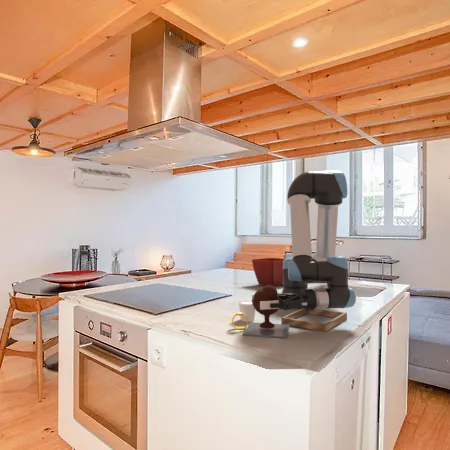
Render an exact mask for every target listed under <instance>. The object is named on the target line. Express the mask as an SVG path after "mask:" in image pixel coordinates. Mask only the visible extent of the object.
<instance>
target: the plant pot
mask: <svg viewBox="0 0 450 450" xmlns="http://www.w3.org/2000/svg"><path fill="white" fill-rule="evenodd" d="M284 259H285V258H276V257H267V258H266V257H265V258H254V259H253V258H252V259H251V261H252V262H251V263H252V268H253V272H254V276H255V279H256V281H257V283H258V285H259V284H260V286H264V287H265V286H266V285H272V286H274V287H281V286H283V269H282V268H283V260H284Z"/></svg>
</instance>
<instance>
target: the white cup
mask: <svg viewBox="0 0 450 450" xmlns="http://www.w3.org/2000/svg"><path fill="white" fill-rule="evenodd" d="M238 306H239V312H243V313H244V314H245V315H246V316H247V318H248V323H249V322H250V323H251V322H254V321H255V317H256V315H255V314H256V309H255V308H254V306H253V304H252V300H244V301H243V300H242V301H239V302H238ZM239 317H240V321H242V322H246V323H247V319H246V317H245V316H243V315H242V316H239Z"/></svg>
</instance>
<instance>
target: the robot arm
mask: <svg viewBox="0 0 450 450" xmlns="http://www.w3.org/2000/svg"><path fill="white" fill-rule="evenodd" d="M347 183H348V182H347V178H346V176H345V173H344V172H343V171H340V170H320V171H319V170H318V171H305V172H302V173H300V174H298V175H297V176H296V177H295V178H294V179H293V181H292V182H291V184H290V185H289V188H288V190H287V194H286V195H287V196H286V198H287V204H288V205H289V209H290V211H289V212H290V231H291V232H290V233H291V234H290V235H291V253H292V254H291V256H290V257H287V258H283V259H284V260H283V268H282V269H283V285H282V291H281V292H280V293H279V292H277V293H278V294H277V295H278V296H279V298H280V299H279V301H278V300H277V301H260V310H264V309H279V308H280V309H279V310H283V311H287V310H288V311H289V310H295V309H302V308H303V309H304V310H314V309H320V311H322V309H324V310H331V309H345V308H346V309H348V308H352V307H354V305H355V304H356V301H357V297H356V292H355V290H354V289H353V288H352V287H349V265H348V262H349V261H348V258H347V257H346V256H342V255H337V254H336V245H337V244H336V243H337V230H338V215H339V206H340V205H342V204H343V199H346V198H347V197H348V184H347ZM313 199H314V203H315V204H316V205H317V218H316V219H317V221H316V222H317V223H316V225H317V226H316V244H315V247H316V248H315V252H314V253H313V252H312V251H313V248H312V237H311V236H312V235H311V224H310V223H311V222H310V207H309V204H310V203H311V200H313ZM309 284H326V286H327V287H326V288H323V287H322V288H320V287H319V288H313V289H312V288H309V287H308V286H309ZM253 298H254V294H252V295H251V300H252V299H253Z"/></svg>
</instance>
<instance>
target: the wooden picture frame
mask: <svg viewBox="0 0 450 450" xmlns="http://www.w3.org/2000/svg"><path fill="white" fill-rule="evenodd" d="M306 314H309V315H316V316H323V317H329V318H332V319H331V320H329V321H328V322H326V323H322V322H315V321H310V320H308V321H307V320H304V319H303V320H302V319H299V317H303V316H304V315H306ZM280 319H281V320H280V321H281V323H280V324H287V325H290V327H291V326H292V327H298V328H303V329H309V330H314V331H321V332H326V333H327V332H329V331H330V330H332V329H333V328H335V327H336V326H338V325H339V324H341V323H343V322H344V321H346V320H347V319H348V312H344V311H337V310H331V309H322V311H320V309H314V310H304V309H303V308H299V309H298V310H296V311H292V312H291V313H289V314H286V315H284V316H282V317H281V318H280Z"/></svg>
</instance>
